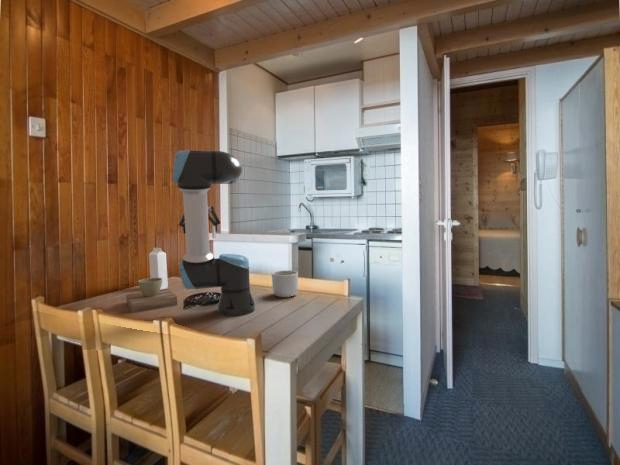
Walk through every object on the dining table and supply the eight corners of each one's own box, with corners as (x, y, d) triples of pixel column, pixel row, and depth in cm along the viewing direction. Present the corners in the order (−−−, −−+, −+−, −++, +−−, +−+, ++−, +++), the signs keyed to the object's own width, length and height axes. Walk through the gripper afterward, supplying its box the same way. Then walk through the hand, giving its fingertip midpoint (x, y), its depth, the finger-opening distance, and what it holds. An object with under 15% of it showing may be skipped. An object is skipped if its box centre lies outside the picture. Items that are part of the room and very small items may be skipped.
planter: (282, 300, 159) (282, 276, 158) (267, 295, 169) (266, 273, 168) (303, 295, 167) (303, 272, 166) (287, 290, 177) (287, 269, 176)
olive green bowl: (167, 292, 162) (166, 277, 162) (156, 298, 152) (155, 282, 152) (145, 292, 163) (144, 277, 162) (134, 298, 153) (133, 282, 152)
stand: (177, 305, 156) (176, 296, 155) (132, 312, 146) (131, 303, 145) (168, 296, 171) (167, 288, 170) (126, 303, 161) (126, 294, 160)
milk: (159, 287, 192) (157, 246, 190) (168, 287, 189) (165, 247, 188) (150, 289, 186) (148, 248, 185) (159, 290, 184) (156, 248, 182)
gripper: (220, 196, 186) (222, 236, 188) (171, 197, 172) (173, 240, 174) (225, 196, 180) (227, 237, 182) (174, 197, 166) (177, 241, 168)
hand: (201, 239), depth 178 cm, fingers open, 13 cm apart
